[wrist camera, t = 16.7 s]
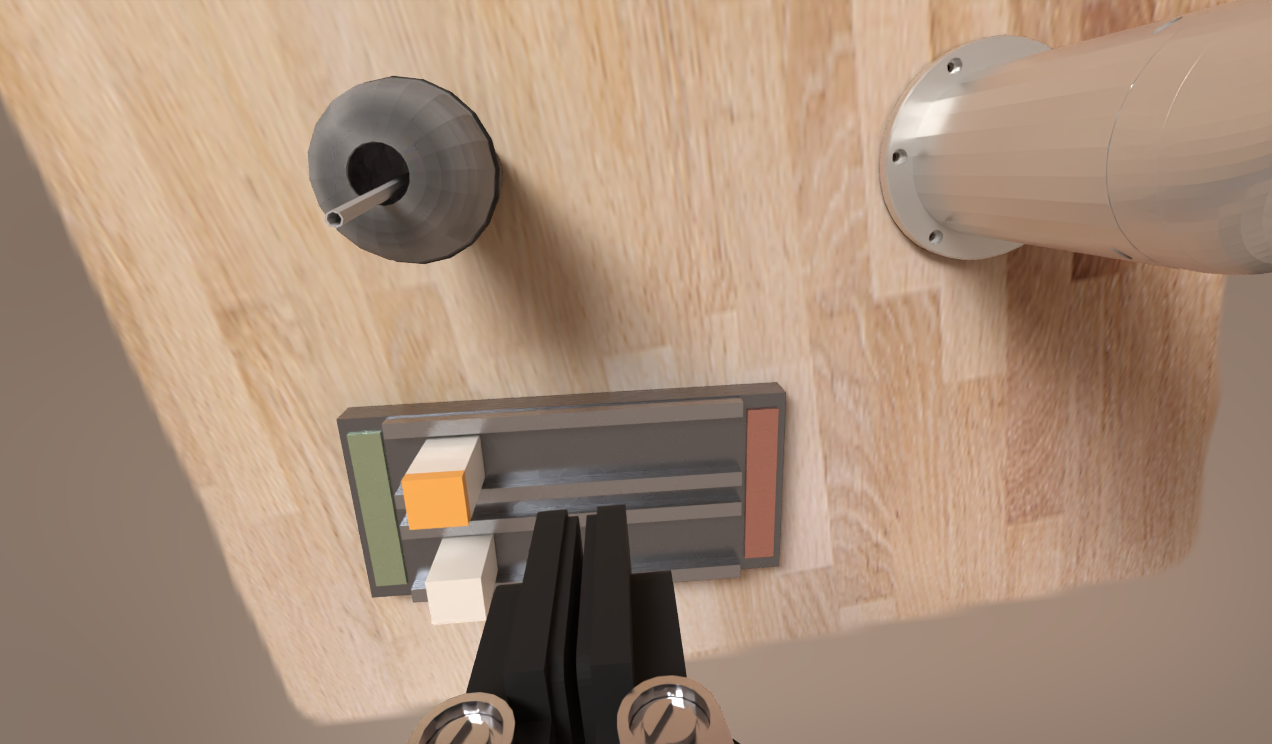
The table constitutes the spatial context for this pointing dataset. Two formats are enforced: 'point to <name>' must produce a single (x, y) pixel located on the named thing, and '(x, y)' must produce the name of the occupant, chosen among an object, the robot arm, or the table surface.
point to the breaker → (462, 579)
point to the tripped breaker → (444, 482)
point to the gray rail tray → (583, 477)
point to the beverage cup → (404, 170)
